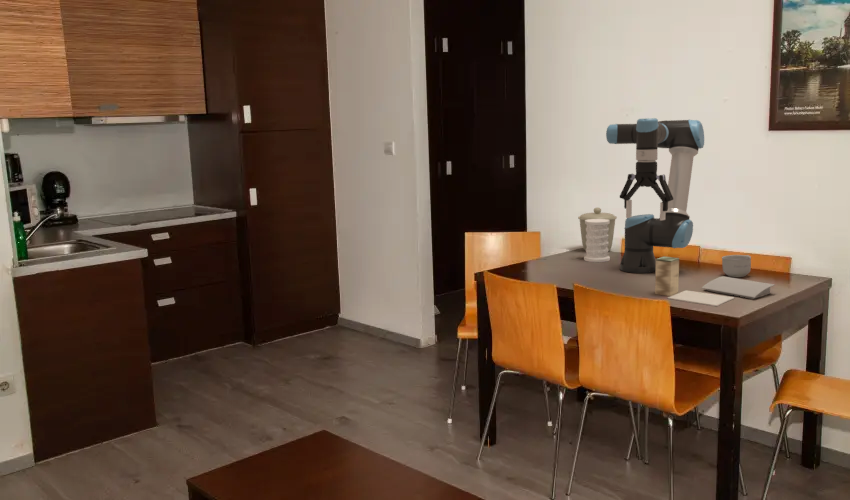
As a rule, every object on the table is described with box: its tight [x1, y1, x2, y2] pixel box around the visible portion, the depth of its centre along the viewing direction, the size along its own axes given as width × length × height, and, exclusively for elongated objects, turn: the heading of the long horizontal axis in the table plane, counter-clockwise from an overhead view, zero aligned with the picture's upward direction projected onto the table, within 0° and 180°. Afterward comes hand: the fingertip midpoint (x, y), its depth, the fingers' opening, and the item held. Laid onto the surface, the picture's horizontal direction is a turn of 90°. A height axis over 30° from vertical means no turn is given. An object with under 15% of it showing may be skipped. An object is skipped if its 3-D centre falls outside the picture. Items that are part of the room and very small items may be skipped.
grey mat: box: [667, 289, 735, 307], centre depth 265 cm, size 18×14×1 cm
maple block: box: [654, 255, 680, 297], centre depth 273 cm, size 6×6×13 cm
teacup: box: [721, 254, 752, 278], centre depth 298 cm, size 14×11×8 cm
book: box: [701, 275, 775, 300], centre depth 273 cm, size 15×23×4 cm, turn 37°
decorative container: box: [583, 219, 611, 263], centre depth 339 cm, size 12×12×18 cm
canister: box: [578, 207, 618, 251], centre depth 360 cm, size 18×18×21 cm
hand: (645, 218), depth 277 cm, fingers open, 13 cm apart
